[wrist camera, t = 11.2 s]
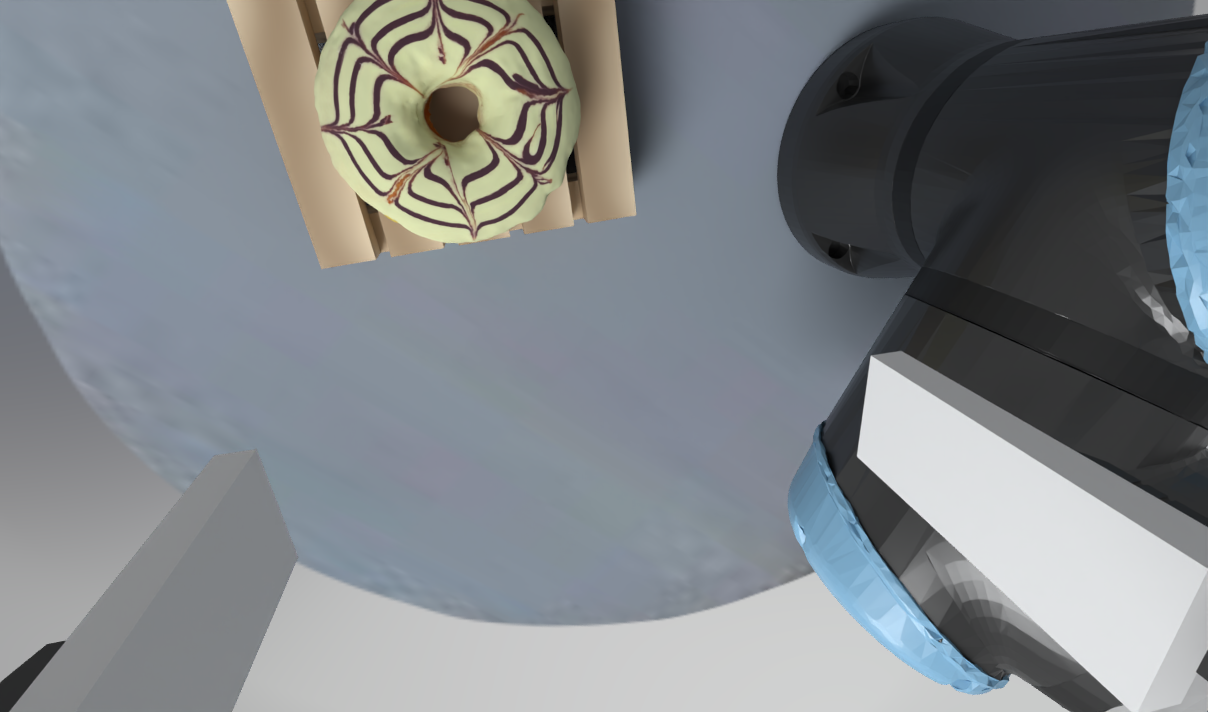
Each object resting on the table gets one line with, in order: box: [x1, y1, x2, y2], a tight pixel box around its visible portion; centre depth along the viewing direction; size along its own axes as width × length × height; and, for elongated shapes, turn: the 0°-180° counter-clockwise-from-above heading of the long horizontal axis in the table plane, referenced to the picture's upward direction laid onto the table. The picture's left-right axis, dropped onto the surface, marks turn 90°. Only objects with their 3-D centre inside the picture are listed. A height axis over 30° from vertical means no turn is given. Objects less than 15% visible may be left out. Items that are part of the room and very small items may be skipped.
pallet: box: [227, 0, 636, 269], centre depth 28 cm, size 16×12×5 cm
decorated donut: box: [314, 0, 581, 243], centre depth 24 cm, size 10×11×4 cm
